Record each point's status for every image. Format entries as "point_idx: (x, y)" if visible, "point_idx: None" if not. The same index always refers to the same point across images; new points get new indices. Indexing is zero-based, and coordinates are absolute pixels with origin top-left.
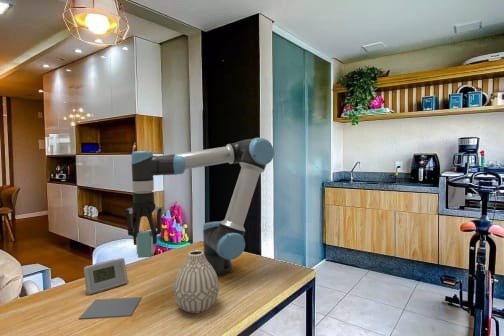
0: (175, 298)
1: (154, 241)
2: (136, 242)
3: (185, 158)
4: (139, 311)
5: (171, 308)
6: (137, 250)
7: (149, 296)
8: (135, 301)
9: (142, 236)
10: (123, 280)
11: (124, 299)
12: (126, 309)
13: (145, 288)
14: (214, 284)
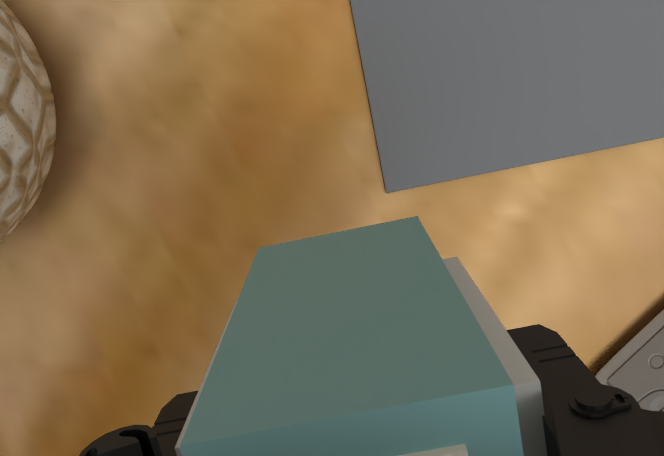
0: (8, 9)
1: (185, 416)
2: (499, 327)
3: None
4: (312, 12)
5: (115, 72)
6: (455, 277)
7: (342, 219)
8: (399, 129)
9: (367, 370)
10: (616, 376)
11: (490, 148)
12: (407, 13)
13: None
14: None
